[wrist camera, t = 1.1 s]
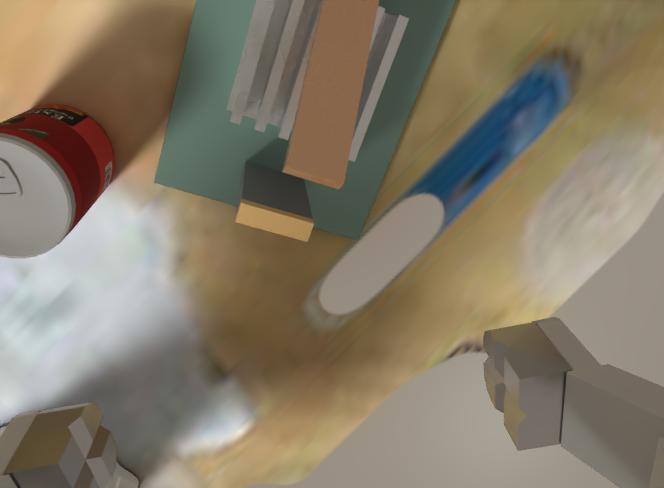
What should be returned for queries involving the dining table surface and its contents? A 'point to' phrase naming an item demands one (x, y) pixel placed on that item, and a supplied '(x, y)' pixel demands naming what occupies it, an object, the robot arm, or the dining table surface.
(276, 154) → the board
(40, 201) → the canned food
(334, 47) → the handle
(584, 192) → the dining table surface
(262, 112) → the heatsink
